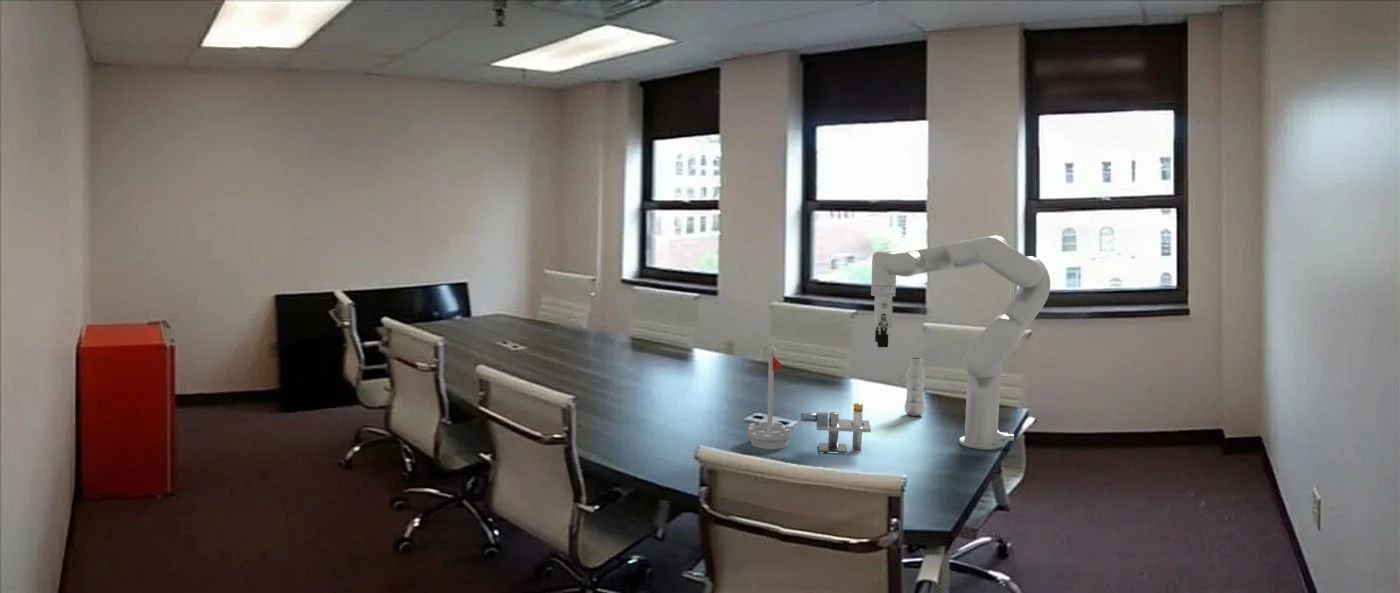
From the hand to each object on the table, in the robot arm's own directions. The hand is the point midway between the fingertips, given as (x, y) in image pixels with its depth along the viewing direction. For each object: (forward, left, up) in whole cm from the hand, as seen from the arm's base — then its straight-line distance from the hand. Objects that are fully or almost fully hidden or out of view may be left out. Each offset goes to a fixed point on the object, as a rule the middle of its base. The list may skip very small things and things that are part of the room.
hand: (881, 344), depth 283 cm
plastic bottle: (-14, -24, -28) cm, 40 cm away
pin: (+8, +23, -28) cm, 37 cm away
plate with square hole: (+15, +23, -28) cm, 39 cm away
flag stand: (+34, +20, -29) cm, 49 cm away
